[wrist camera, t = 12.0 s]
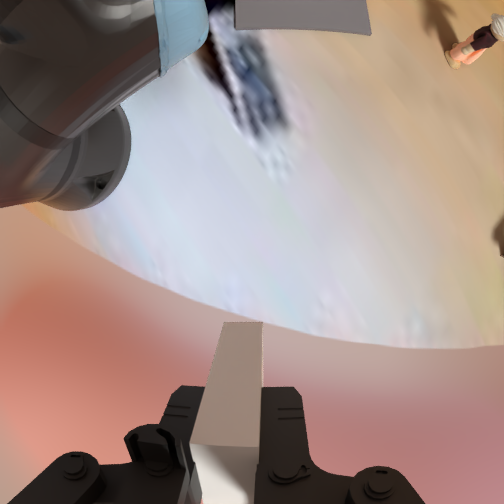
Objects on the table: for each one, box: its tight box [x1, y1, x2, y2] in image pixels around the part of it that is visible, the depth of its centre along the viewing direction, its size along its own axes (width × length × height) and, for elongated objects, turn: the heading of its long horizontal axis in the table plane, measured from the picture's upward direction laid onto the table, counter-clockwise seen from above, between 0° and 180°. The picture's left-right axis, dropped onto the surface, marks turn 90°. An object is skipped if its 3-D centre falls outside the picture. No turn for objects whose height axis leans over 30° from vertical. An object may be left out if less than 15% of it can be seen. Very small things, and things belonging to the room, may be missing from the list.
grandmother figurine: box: [445, 14, 504, 69], centre depth 24 cm, size 8×4×13 cm, turn 144°
